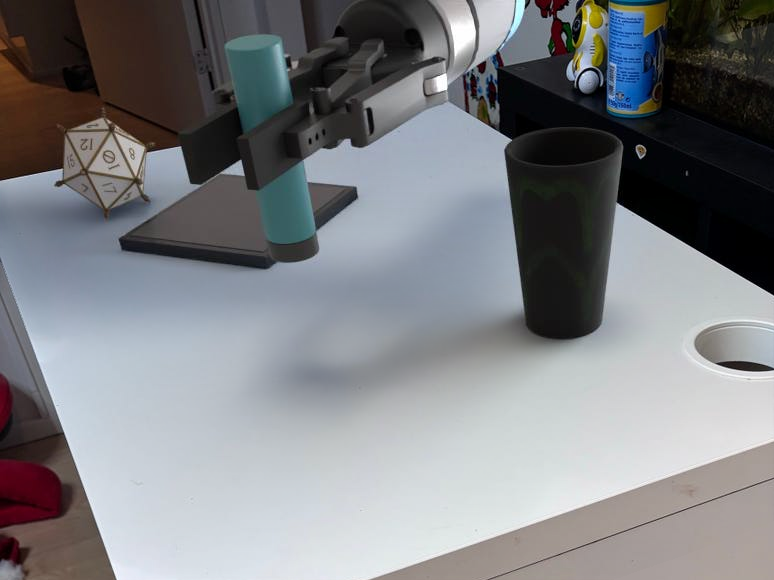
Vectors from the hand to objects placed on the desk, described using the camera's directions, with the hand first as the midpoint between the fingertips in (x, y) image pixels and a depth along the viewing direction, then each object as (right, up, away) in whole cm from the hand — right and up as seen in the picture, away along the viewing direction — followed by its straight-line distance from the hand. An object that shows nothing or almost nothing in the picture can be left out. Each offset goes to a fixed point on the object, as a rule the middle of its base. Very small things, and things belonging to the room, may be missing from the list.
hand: (218, 161), depth 57 cm
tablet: (-7, +11, +35) cm, 37 cm away
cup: (+21, -3, +18) cm, 27 cm away
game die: (-20, +14, +40) cm, 46 cm away
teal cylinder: (+3, -2, +9) cm, 9 cm away
